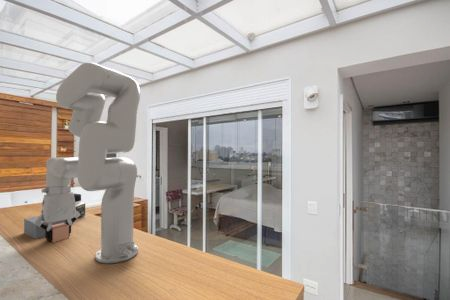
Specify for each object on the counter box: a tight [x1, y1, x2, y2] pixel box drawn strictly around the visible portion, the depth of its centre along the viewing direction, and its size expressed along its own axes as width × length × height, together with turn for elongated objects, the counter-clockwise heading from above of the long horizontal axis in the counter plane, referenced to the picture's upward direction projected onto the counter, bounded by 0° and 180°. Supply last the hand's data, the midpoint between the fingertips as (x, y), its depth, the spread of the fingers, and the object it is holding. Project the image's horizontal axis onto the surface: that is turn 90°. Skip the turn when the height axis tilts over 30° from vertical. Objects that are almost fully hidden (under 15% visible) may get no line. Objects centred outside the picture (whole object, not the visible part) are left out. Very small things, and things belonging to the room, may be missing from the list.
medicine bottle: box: [73, 193, 86, 222], centre depth 111 cm, size 7×7×12 cm
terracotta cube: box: [51, 223, 70, 243], centre depth 87 cm, size 5×5×5 cm
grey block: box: [23, 215, 66, 240], centre depth 94 cm, size 11×11×6 cm
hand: (58, 237), depth 87 cm, fingers open, 5 cm apart
